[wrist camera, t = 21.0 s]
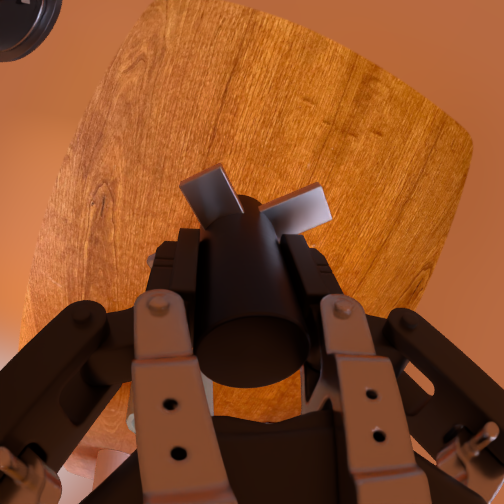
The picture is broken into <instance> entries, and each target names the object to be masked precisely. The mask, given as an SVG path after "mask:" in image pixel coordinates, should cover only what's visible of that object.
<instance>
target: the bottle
mask: <svg viewBox="0 0 504 504" xmlns="http://www.w3.org/2000/svg"><path fill="white" fill-rule="evenodd" d="M129 456H130V454H127V453H124V452H121V451H117V450H111V449H101V450H99V451H98V455H97V462H96V468H95V475H94V483H93V490H94V489H95V488H96V487H97V486H98V485H100V484H101V483H102V482H103V481H104V480H105V479H106V478H107V477H108V476H109V475H110V474H111V473H112V472H113V471H114V470H115V469H116V468H118V467H119V466H120V465H121V464H122V463H123V462H124V461H125V460H126V459H127V458H128V457H129Z"/></svg>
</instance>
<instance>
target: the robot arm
mask: <svg viewBox="0 0 504 504" xmlns="http://www.w3.org/2000/svg"><path fill="white" fill-rule="evenodd" d="M46 2H47V0H0V52H6V51H10V50H13V49H15V48H17V47H18V46H20V45H21V44H22V43H24V42H25V41H26V40H27V39H28V38H29V37H30V36H31V35H32V33H33V32H34V31H35V29H36V28H37V26H38V24H39V23H40V21H41V19H42V16H43V14H44V11H45V7H46ZM199 243H200V229H189V228H180V231H179V236H178V241H164V242H163V243H162V244H161V245H160V246H159V247H158V248H157V250H156V254H155V259H154V261H153V266H152V269H151V272H150V276H149V280H148V284H147V288H146V292H144V293H143V294H141V295H140V296H139V297H138V298H137V299H136V301H135V303H134V306H133V307H131V308H129V309H126V310H122V311H117V312H111V313H106V310H105V308H104V307H103V306H102V305H101V304H99V303H97V302H95V301H90V300H82V301H78V302H74V303H72V304H70V305H69V306H67V307H66V308H65V309H64V310H62V311H61V312H60V313H59V314H58V315H57V316H56V317H55V318H54V319H53V320H52V321H51V322H49V323H48V324H47V325H46V326H45V327H44V328H43V329H42V330H41V331H40V332H39V333H38V334H37V335H36V336H35V337H34V338H33V339H32V340H31V341H30V342H29V343H28V344H26V345H25V346H24V347H23V348H22V349H21V350H20V351H19V352H18V353H17V354H16V355H15V356H14V357H13V359H11V360H10V361H9V362H8V363H7V365H6V366H5V367H4V368H3V369H2V370H1V371H0V504H58V502H59V500H60V497H61V494H62V485H61V481H60V479H59V477H58V475H57V473H58V471H59V470H60V468H61V467H62V466H63V464H64V463H65V462H66V460H67V459H68V457H69V456H70V455H71V453H72V452H73V450H74V449H75V448H76V446H77V445H78V444H79V442H80V441H81V440H82V438H83V437H84V435H85V434H86V433H87V431H88V430H89V429H90V427H91V426H92V425H93V423H94V422H95V420H96V419H97V418H98V416H99V415H100V414H101V412H102V411H103V410H104V408H105V407H106V406H107V404H108V403H109V402H110V400H111V399H112V398H113V396H114V395H115V394H116V392H117V391H118V390H119V388H120V387H121V385H122V383H125V382H130V381H132V393H133V409H134V422H135V433H136V443H137V449H136V450H135V451H134V452H133V453H132V454H131V455H130V456H129V457H128V458H127V459H126V460H125V461H124V462H123V463H122V464H121V465H120V466H119V467H118V468H116V469H115V470H114V471H113V472H112V473H111V474H110V475H109V476H108V477H107V478H106V479H105V480H104V481H103V482H102V483H101V484H100V485H98V486H97V487H96V488H95V489H94V490H93V491H92V492H91V493H90V494H89V495H88V496H87V497H85V498H84V499H83V500H82V501H81V502H80V503H79V504H490V503H491V502H492V500H493V499H494V497H495V496H496V494H497V492H498V491H499V489H500V488H501V486H502V484H503V483H504V390H503V389H502V388H501V387H500V386H499V385H498V384H497V383H496V382H495V381H494V380H493V379H492V378H491V377H489V376H488V375H487V374H486V373H485V372H484V371H483V370H482V369H481V368H480V367H479V366H477V365H476V364H475V363H474V362H473V361H472V360H471V359H470V358H468V357H467V356H466V355H465V354H464V353H463V352H462V351H461V350H460V349H458V348H457V347H456V346H455V345H454V344H453V343H452V342H450V341H449V340H448V339H447V338H446V337H445V336H444V335H442V334H441V333H440V332H439V331H438V330H437V329H435V328H434V327H433V326H432V325H431V324H430V323H428V322H427V321H426V320H425V319H424V318H422V317H421V316H420V315H419V314H417V313H416V312H414V311H412V310H410V309H406V308H396V309H393V310H392V311H391V312H390V314H389V316H388V318H387V319H385V318H380V317H375V316H371V315H367V314H365V312H364V309H363V307H362V306H361V304H360V303H359V302H358V301H356V300H355V299H353V298H351V297H349V296H347V295H344V294H343V292H342V290H341V288H340V286H339V284H338V282H337V280H336V278H335V276H334V274H333V273H332V270H331V268H330V266H329V264H328V262H327V260H326V258H325V257H324V255H322V254H321V253H320V252H319V251H318V250H317V249H315V248H309V247H308V245H307V243H306V241H305V239H304V236H303V235H298V234H282V236H281V239H280V247H281V250H282V253H283V256H284V259H285V262H286V265H287V268H288V271H289V274H290V277H291V280H292V283H293V286H294V289H295V292H296V295H297V298H298V301H299V304H300V307H301V310H302V313H303V316H304V319H305V322H306V325H307V328H308V331H309V335H310V338H311V350H310V354H309V356H308V358H307V360H306V362H305V363H304V364H303V366H302V367H301V368H300V375H301V415H299V416H296V417H293V418H290V419H287V420H284V421H281V422H277V423H273V424H268V423H261V422H256V421H250V420H245V419H240V418H235V417H230V416H211V414H210V410H209V406H208V402H207V398H206V394H205V389H204V385H203V381H202V376H201V372H200V367H199V363H198V359H197V356H196V354H195V355H194V354H193V349H192V348H193V338H194V318H195V308H196V289H197V273H198V257H199ZM409 361H410V362H411V363H412V364H413V365H414V366H415V367H416V368H418V369H419V370H420V371H421V372H422V373H423V374H424V375H425V376H426V377H427V378H428V379H429V380H430V381H431V382H432V383H433V385H434V389H435V392H434V395H433V396H431V395H429V394H427V393H426V392H425V391H424V390H423V389H422V388H421V387H420V386H419V385H418V384H417V383H416V382H415V381H414V380H413V379H412V378H411V377H410V376H409V375H408V374H407V373H406V372H405V371H404V369H405V367H406V366H407V364H408V363H409ZM410 435H412V437H413V438H414V439H415V440H416V441H417V442H418V443H419V444H420V445H421V446H422V447H423V448H424V449H425V450H426V451H427V452H428V453H429V454H430V455H431V457H432V458H433V459H434V460H435V461H436V463H437V465H436V466H435V465H434V464H432V463H431V462H429V461H428V460H426V459H425V458H424V457H422V456H421V455H419V454H418V453H416V452H415V451H414V450H413V447H412V443H411V439H410Z"/></svg>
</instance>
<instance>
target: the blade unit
mask: <svg viewBox="0 0 504 504" xmlns="http://www.w3.org/2000/svg"><path fill="white" fill-rule="evenodd" d="M179 187H180V189H181V191H182V193H183V194H184V196H185V198H186V200H187V201H188V203H189V205H190V207H191V208H192V210H193V212H194V214H195V215H196V217H197V219H198V221H199V222H200V224H201V225H200V243H199V257H198V273H197V289H196V308H195V318H194V338H193V354H194V355H195V354H196V356H197V359H198V363H199V367H200V371H201V373H202V374H204V375H205V376H206V377H207V378H209V379H210V380H212V381H214V382H216V383H219V384H221V385H225V386H229V387H235V388H257V387H263V386H268V385H271V384H274V383H277V382H280V381H282V380H284V379H286V378H288V377H289V376H291V375H292V374H294V373H295V372H296V371H298V370H299V369H300V368H301V367H302V366H303V364H304V363H305V362H306V360H307V358H308V356H309V354H310V350H311V338H310V335H309V331H308V328H307V325H306V322H305V319H304V316H303V313H302V310H301V307H300V304H299V301H298V298H297V295H296V292H295V289H294V286H293V283H292V280H291V277H290V274H289V271H288V268H287V265H286V262H285V259H284V256H283V253H282V250H281V247H280V244H279V242H280V239H281V236H282V234H299V233H302V232H304V231H307V230H309V229H311V228H314V227H316V226H318V225H321V224H323V223H325V222H328V221H330V220H332V216H331V213H330V210H329V207H328V204H327V201H326V198H325V195H324V192H323V189H322V186H321V185H320V184H319V183H318V182H315V183H313V184H311V185H308V186H306V187H303V188H301V189H299V190H296V191H294V192H291V193H289V194H287V195H284V196H282V197H280V198H277V199H275V200H273V201H270V202H268V203H266V204H263V205H262V204H261V203H260V202H259V201H257V200H256V199H254V198H252V197H249V196H246V195H237V194H236V192H235V190H234V188H233V186H232V184H231V182H230V180H229V178H228V176H227V174H226V172H225V170H224V168H223V166H222V164H221V163H218V164H216V165H214V166H212V167H210V168H207V169H205V170H203V171H201V172H199V173H197V174H195V175H193V176H191V177H189V178H187V179H185V180H183V181H181V182H180V185H179ZM155 254H156V253H155ZM155 254H152V255H150V256H149V257H148V259H147V264H148V265H149V267H150V268H151V269H152V266H153V261H154V259H155Z"/></svg>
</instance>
